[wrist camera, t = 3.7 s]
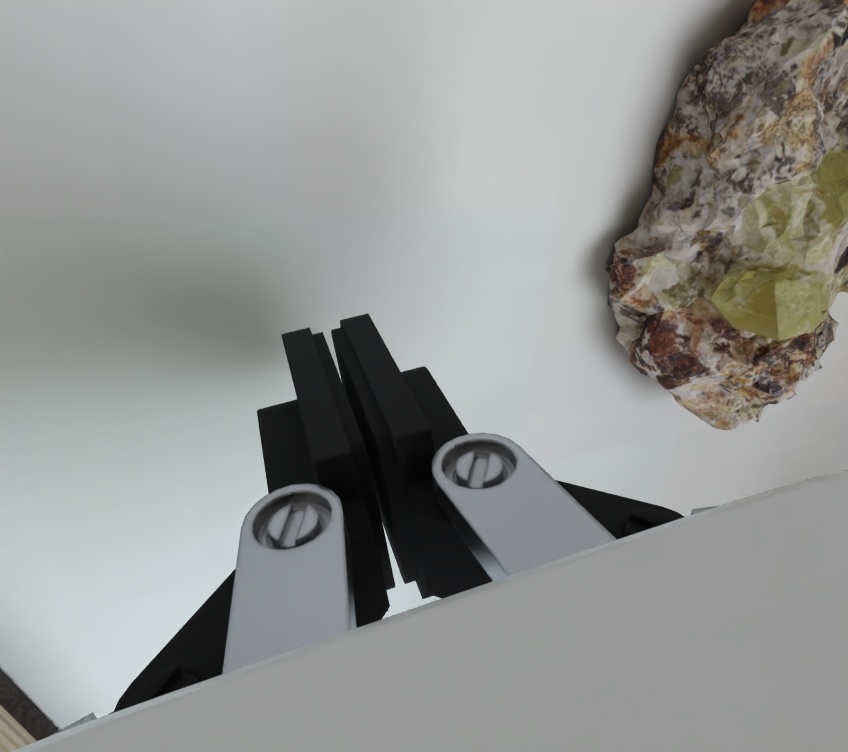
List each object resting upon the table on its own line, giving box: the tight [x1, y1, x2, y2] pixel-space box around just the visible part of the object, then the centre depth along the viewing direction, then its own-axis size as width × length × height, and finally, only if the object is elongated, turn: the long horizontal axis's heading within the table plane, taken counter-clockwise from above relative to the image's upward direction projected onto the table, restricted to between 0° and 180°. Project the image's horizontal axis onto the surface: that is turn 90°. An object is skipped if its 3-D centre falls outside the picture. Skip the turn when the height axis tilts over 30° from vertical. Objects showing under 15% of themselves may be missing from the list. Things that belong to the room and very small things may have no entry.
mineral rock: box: [605, 0, 848, 430], centre depth 16 cm, size 11×4×8 cm
